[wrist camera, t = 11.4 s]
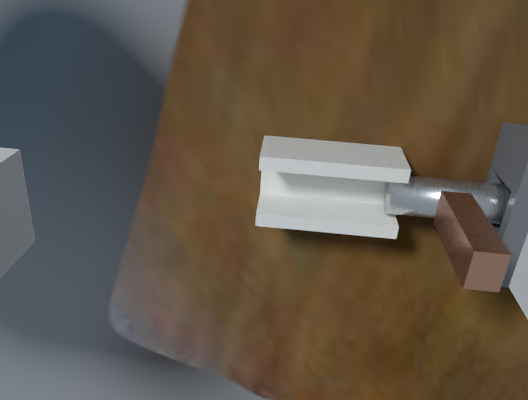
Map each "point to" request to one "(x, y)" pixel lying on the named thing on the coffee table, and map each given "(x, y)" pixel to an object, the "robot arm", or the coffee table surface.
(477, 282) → the silver peg with handle
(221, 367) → the coffee table surface
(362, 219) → the white channel cradle
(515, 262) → the socket block
